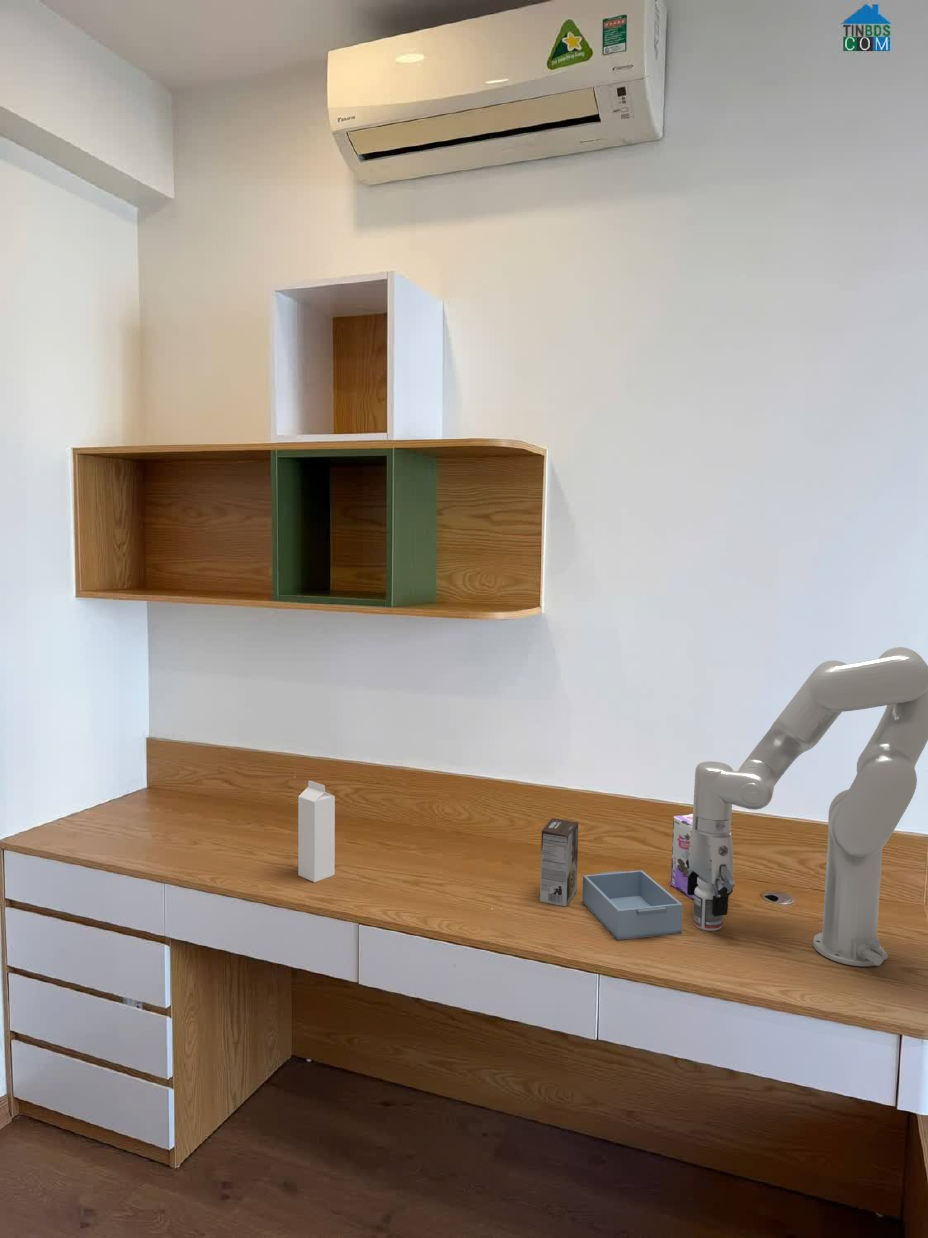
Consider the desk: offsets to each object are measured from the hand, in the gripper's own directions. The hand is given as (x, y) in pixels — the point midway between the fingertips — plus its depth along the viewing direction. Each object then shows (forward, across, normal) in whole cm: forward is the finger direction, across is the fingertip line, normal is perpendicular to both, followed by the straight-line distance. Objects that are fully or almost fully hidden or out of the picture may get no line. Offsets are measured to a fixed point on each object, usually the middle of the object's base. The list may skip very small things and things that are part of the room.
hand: (706, 904), depth 173 cm
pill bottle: (+5, 0, 0) cm, 5 cm away
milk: (+6, +43, +76) cm, 87 cm away
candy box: (+5, +14, -6) cm, 16 cm away
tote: (+5, +7, +14) cm, 16 cm away
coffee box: (+5, +20, +25) cm, 32 cm away
